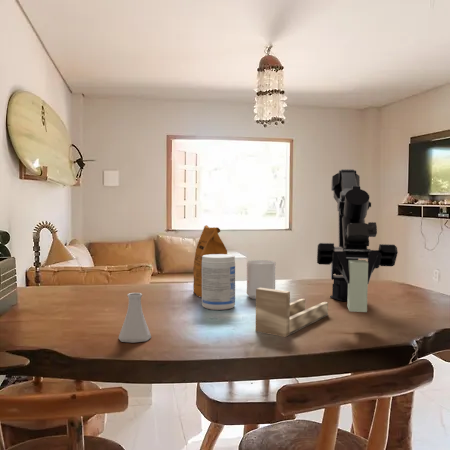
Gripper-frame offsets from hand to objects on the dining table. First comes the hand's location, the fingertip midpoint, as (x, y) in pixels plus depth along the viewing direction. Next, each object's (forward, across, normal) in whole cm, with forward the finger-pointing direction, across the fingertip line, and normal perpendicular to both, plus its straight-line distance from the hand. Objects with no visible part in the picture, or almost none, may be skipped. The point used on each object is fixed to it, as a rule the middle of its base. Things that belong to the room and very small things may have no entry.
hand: (358, 282), depth 110 cm
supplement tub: (-4, -36, +20) cm, 42 cm away
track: (+4, -14, +12) cm, 19 cm away
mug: (-16, -26, +32) cm, 44 cm away
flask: (+19, -49, -3) cm, 53 cm away
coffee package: (-15, -42, +32) cm, 55 cm away
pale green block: (+4, 0, +6) cm, 7 cm away
